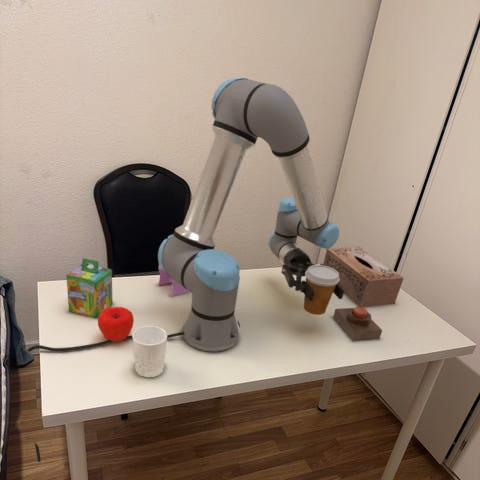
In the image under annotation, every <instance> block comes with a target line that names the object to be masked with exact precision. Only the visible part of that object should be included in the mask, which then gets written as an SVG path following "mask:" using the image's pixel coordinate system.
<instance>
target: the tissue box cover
mask: <svg viewBox="0 0 480 480" xmlns="http://www.w3.org/2000/svg"><path fill="white" fill-rule="evenodd" d="M322 264H324V265H325V266H328V267H330V268H333V269H335V270H336V271H337V272H338V273H339V277H340V282H339V285H340V286H341V288H342V289H343V290H344V293H343V295H346V296H347V297H348V298H349V299H350V300H351V301H352V302H353V303H355V304H356V305H357V307H362V308H367V307H377V306H386V305H395V304H396V301H397V299H398V296H399V292H400V289H401V287H402V284H403V281H404V277H403V276H402V275H401V274H399V273H397V271H395V270H393V269H392V268H390V267H389V266H388V265H387V264H385V263H383V262H382V261H381V260H379V259H378V258H377V257H375V256H374V255H372V254H371V253H369V252H368V251H367V250H365V249H364V248H362V247H361V246H348V247H347V246H346V247H345V246H344V247H331V248H328V249H325V255H324V259H323V263H322Z"/></svg>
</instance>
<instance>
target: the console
mask: <svg viewBox="0 0 480 480" xmlns="http://www.w3.org/2000/svg"><path fill="white" fill-rule="evenodd" d="M354 308H355V307H346V308H344V307H343V308H334V312H333V316H332V317H333V319H334V320H335V322H336V323H337V324H338V325H339V327H340V328H341V329H342V330H343V331H344V332H345V334H346V335H347V336H348V337H349V338H350V339H351V341H352V342H358V341H371V340H380V338H381V335H382V332H383V329H382V328H381V327H380V326H379V325H378V324H377V323H376V322H375V321H374V320H373V319H372V315H371V314H370V312H369V311H368V312H367V316H366V318H358V317H356V316H354V315H353V311H354Z"/></svg>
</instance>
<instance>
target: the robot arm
mask: <svg viewBox="0 0 480 480" xmlns="http://www.w3.org/2000/svg"><path fill="white" fill-rule="evenodd" d="M210 108H211V110H212V112H211V115H212V117H213V119H214V121H213V123H212V126H211V128H212V130H213V133H214V138H213V142H212V144H211V147H210V150H209V153H208V155H207V158H206V161H205V163H204V166H203V169H202V171H201V175H200V177H199V180H198V182H197V186H196V188H195V191H194V193H193V196H192V199H191V202H190V204H189V207H188V210H187V212H186V215H185V218H184V220H183V224H181V225H180V226H178V227H176V228H175V229H174V232H173V234H170V235H168V236H167V238H165V239H164V240H163V241H162V242H161V244H160V245H159V249H158V252H157V260H158V266H159V265H160V267H161V268H162V270H163V271H164V272H165V273H166V274H167V275H168V277H170V278H171V279H173V280H175V281H176V282H177V283H178V284H180V285H181V286H182V287H184V288H185V289H186V290H188V293H190V294H191V304H190V305H191V306H190V308H191V309H190V311H189V313H188V315H187V317H186V320H185V322H184V324H183V328H182V331H180V332H174V333H171V334H167V339H170V338H175V337H180V336H182V338H183V340H184V341H185V343H186V344H188V345H189V346H190V347H192V348H194V349H197V350H199V351H203V352H208V353H217V352H224V351H227V350H230V349H232V348H233V347H234V346H236V344H237V343H238V340H239V329H240V328H241V324H240V322H239V320H237V319H236V315H235V311H236V306H237V305H236V304H237V299H238V293H239V287H240V280H241V275H240V271H241V269H240V264H239V262H238V260H237V259H236V258H235V257H234V256H232V255H231V254H229V253H228V252H225V251H220V250H218V249H215V247H216V243H215V240H214V234H215V232H216V229H217V227H218V225H219V221H220V219H221V216H222V214H223V212H224V209H225V206H226V204H227V201H228V198H229V196H230V194H231V192H232V189H233V185H234V183H235V181H236V179H237V175H238V172H239V171H240V168H241V165H242V162H243V160H244V158H245V155H246V152H247V151H249V149H252V148H254V147H255V146H256V144H257V141H258V138H260V139H262V140H264V142H266V143H267V144H268V146H269V148H270V151H271V153H272V155H273V156H274V157H276V158H278V160H279V164H280V166H281V168H282V172H283V174H284V177H285V179H286V182H287V186H288V188H289V191H290V194H291V196H292V197H285V198H282V199H281V200H280V201H279V205H278V206H279V207H278V210H277V215H276V221H275V229H274V232H272V233H271V235H270V236H269V238H268V241H267V244H268V247H269V249H270V251H271V252H272V254H273V255H274V256H275V257H277V259H278V260H279V261H280V263H281V264H282V265H281V275H283V276H284V278H285V282H286V283H287V285H288V286H287V287H289V288H290V289H292V288H294V290H295V291H296V292H300V293H303V294H304V297H305V296H306V297H307V298H308V299H309V300H310V301H312V300H313V295H314V291H313V290H312V289H311V287H310V286H309V285H308V284H307V283H306V280H302V277H306V275H305V272H306V271H307V269H308V268H309V267H310V266H313V265H316V264H314V263H313V262H312V261H311V258H310V256H309V255H308V253H306V251H304V249H303V248H301V247H300V245H299V244H297V239H298V237H299V238H301V239H303V240H305V241H307V242H309V243H311V244H313V245H315V246H316V247H320V248H321V249H325V250H327V249H328V248H333V247H334V245H335V244H336V243H337V242H338V240H339V237H340V228H339V227H338V226H337V225H336V224H335V223H333V222H330V220H329V217H328V213H327V210H326V206H325V203H324V199H323V196H322V192H321V188H320V185H319V181H318V178H317V174H316V171H315V167H314V164H313V160H312V157H311V153H310V150H309V145H310V140H311V137H310V134H309V130H308V127H307V125H306V122H305V119H304V117H303V114H302V113H301V111H300V108H299V107H298V105H297V103H296V101H295V100H294V99H293V98H292V96H291V95H290V94H289V93H288V92H287V91H286V90H285V89H283V88H282V87H281V86H278V85H277V84H273V83H266V82H262V81H257V80H253V79H248V78H244V77H232V78H229V79H226V80H225V81H223V82H222V83H221V84H220V85H219V86H218V87H217V89H216V90H215V92H214V93H213V97H212V99H211V107H210ZM319 265H323V266H325V265H324V264H323V263H320V264H319ZM294 276H295V277H294ZM339 278H340V277H339ZM339 282H340V280H339ZM339 282H338V283H337V284H336V286H335V289H334V291H333V294H334V295H335V296H336V298H337V299H338V300H343V296H344V290H343V289H342V288H341V286H340V285H339ZM124 340H133V337H132V335H128V336H127V337H126V338H125V339H124ZM114 342H115V341H110V340H107V339H106V340H103V341H99V342H96V343H90V344H84V345H83V344H82V345H78V346H69V347H51V346H46V345H40V344H37V345H33V346H30V347H29V348H28V349H27V351H26V352H28V353H29V352H32V351H33V350H37V349H39V350H45V351H49V352H69V351H77V350H85V349H90V348H96V347H100V346H104V345H107V344H111V343H114ZM34 447H35V453H36V458H37V462H38V463H40V462H42V459H41V454H40V448H39V445H38V444H37V443H36V442H35V441H34Z"/></svg>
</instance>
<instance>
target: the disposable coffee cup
mask: <svg viewBox="0 0 480 480" xmlns="http://www.w3.org/2000/svg"><path fill="white" fill-rule="evenodd" d="M305 275H306V276H305V282H306V283H307V284H308V285H309V286H310V287H311V289H312V290H313V291H314V295H313V300H312V301H310V300H309V299H308V298H307V297H306V296H305V295H304V298H303V299H304V300H303V309H304V311H305V312H307V313H309V314H311V315H315V316H321V315H323V314H325V313H326V311H327V309H328V306H329V304H330V301H331V298H332V296H333V294H334V293H333V291H334V289H335V286H336V284H337V283H338V282H339V280H340V278H339V273H338V272H337V271H336V270H335V269H333V268H330V267H328V266H323V265H320V264H315V265H313V266H310V267H309V268H308V269H307V271H306V272H305Z"/></svg>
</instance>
